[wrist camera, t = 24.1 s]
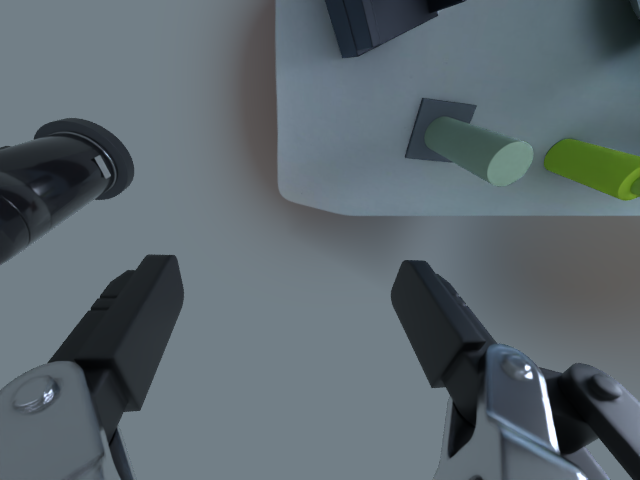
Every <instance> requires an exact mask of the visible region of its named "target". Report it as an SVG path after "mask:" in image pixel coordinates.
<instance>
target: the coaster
mask: <svg viewBox="0 0 640 480" xmlns="http://www.w3.org/2000/svg"><path fill="white" fill-rule="evenodd" d="M475 109H476V105H470V104H463V103H455V102H448V101H441V100H434V99H426V98H422V101H421V105H420V108H419V111H418V115H417V118H416V121H415V125H414V128H413V131H412V135H411V138H410V142H409V145H408V148H407V152H406V155H405V157H406V158H411V159H422V160H432V161H442V162H452V161H450V160H449V159H447V158H445V157H443V156H442V155H440V154H438V153H436V152H435V151H433V150H431V149H429V148H428V147H427V146H426V144H425V139H424V136H425V132H426V129H427V128H428V126H429V125H430V124H431V123H432V122H433V121H434V120H435V119H437V118H439V117H450V118H453V119H456V120H459V121H462V122H465V123H468V124H470V121H471V119H472V116H473V114H474V111H475ZM453 163H454V162H453Z"/></svg>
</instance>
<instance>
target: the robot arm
mask: <svg viewBox="0 0 640 480" xmlns="http://www.w3.org/2000/svg"><path fill="white" fill-rule="evenodd" d="M117 179H118V168H117V165H116V163H115V160H114V159H113V157H112V156H111V154H110V153H109V152H108V151H107V149H106V148H105V147H103V146H102V145H101V144H100V143H99V142H97V141H96V140H94V139H92V138H91V137H89V136H87V135H84V134H82V133H78V132H74V131H59V132H55V133H52V134H50V135H48V136H45V137H42V138H38V139H35V140H32V141H28V142H25V143H22V144H18V145H15V146H12V147H10V146H5V147H1V148H0V265H2V264H3V263H5V262H7V261H9V260H10V259H12V258H13V257H14V256H16V255H17V254H19V253H20V252H21V251H23V250H24V249H25V248H27V247H28V246H30V245H31V244H33V243H34V242H36V241H37V240H38V239H40V238H41V237H42V236H44V235H45V234H47V233H48V232H49V231H51V230H52V229H53V228H55V227H56V226H58V225H59V224H61V223H62V222H63V221H65V220H66V219H68V218H69V217H70V216H72V215H73V214H74V213H76V212H77V211H78V210H80V209H82V208H83V207H84V206H86V205H87V204H89V203H90V202H91V201H93V200H94V199H96V198H97V197H98V196H100V195H101V194H103V193H105V192H107V191H108V190H110V189H111V188H112V187H113V186H114V185H115V184H116V182H117ZM183 300H184V289H183V284H182V279H181V275H180V270H179V265H178V261H177V258H176V256H175V255H147V256H146V257H145V258H144V259H143V261H142V262H141V264H140V265H139V266H138V268H137V269H136V270H127V271H126V272H124V273H123V274H122V275H120V276H119V277H117V278H116V279H114V280H113V281H111V282H110V284H109V285H108V286H107V287H106V289H105V290H104V292H103V293H102V294H101V295H100V299H97V300H96V301H95V303H94V304H93V305H92V307H91V310H90V311H88V312H87V313H86V314H85V316H84V317H83V318H82V319H81V321H80V322H79V324H78V325H77V326H76V327H75V328H74V330H73V331H72V332H71V334H70V335H69V336H68V337H67V339H66V340H65V341H64V342H63V344H62V345H61V346H60V348H59V349H58V350H57V351H56V353H55V354H54V355H53V357H52V358H51V359H50V360H49V362H48V363H47V364H44V365H41V366H39V367H36V368H33V369H31V370H29V371H27V372H25V373H23V374H22V375H20V376H18V377H17V378H15V379H14V380H13V381H11V382H10V383H8V384H7V385H6V386H5V387H4V388H2V389H1V390H0V480H137V479H136V476H135V473H134V470H133V467H132V464H131V461H130V458H129V455H128V451H127V448H126V445H125V442H124V439H123V436H122V433H121V430H120V428H119V426H118V423H119V421H120V419H121V416H122V414H123V412H127V411H128V412H129V411H140V410H141V407H142V405H143V402H144V400H145V398H146V395H147V392H148V390H149V387H150V385H151V383H152V380H153V378H154V375H155V373H156V370H157V368H158V365H159V363H160V360H161V358H162V355H163V353H164V351H165V348H166V346H167V343H168V341H169V338H170V336H171V333H172V331H173V328H174V326H175V323H176V321H177V318H178V316H179V313H180V311H181V308H182V305H183ZM391 301H392V305H393V307H394V309H395V311H396V313H397V315H398V318H399V320H400V322H401V324H402V326H403V328H404V330H405V332H406V334H407V337H408V339H409V341H410V343H411V345H412V347H413V349H414V351H415V354H416V356H417V358H418V360H419V362H420V364H421V366H422V368H423V370H424V373H425V375H426V377H427V379H428V381H429V383H430V385H431V387H432V388H440V387H446V388H447V390H448V392H449V394H450V397H449V399H448V404H447V411H446V419H445V427H444V435H443V443H442V450H441V457H440V462H439V466H438V468H437V471H436V473H435V475H434V477H433V480H610V478H609V477H608V476H607V475H606V473H605V472H604V471H603V469H602V468H601V467H600V465H599V464H598V463H597V461H596V460H595V459H594V458H593V456H592V455H591V454H590V452H589V451H588V450H587V448H586V447H585V446H586V445H588V444H590V443H591V442H593V441H595V440H596V439H598V438H599V439H600V440H601V441H602V442H603V443H604V445H605V446H606V447H607V448H608V450H609V451H610V452H611V453H612V454H613V456H614V457H615V458H616V459H617V461H618V462H619V463H620V464H621V465H622V467H623V468H624V469H625V470H626V472H627V473H628V474H629V475H630V477H631V478H632V479H633V480H640V402H639V401H638V400H637V399H635V398H634V397H633V396H632V395H631V394H630V393H629V392H628V391H627V390H626V389H625V388H624V387H623V386H622V385H621V384H620V383H618V382H617V381H616V380H615V379H613V378H612V377H611V376H609V375H608V374H606V373H604V372H603V371H601V370H599V369H597V368H595V367H593V366H590V365H587V364H581V363H575V364H573V365H572V366H571V367H569V368H568V369H567V370H566V371H565V372H564V373H559V372H555V371H552V370H548V369H544V368H540V367H538V366H537V365H536V364H535V363H534V362H533V361H532V360H531V359H530V358H529V357H528V356H526V355H525V354H524V353H522V352H520V351H519V350H517V349H515V348H513V347H511V346H508V345H505V344H497V343H496V341H495V340H494V339H493V338H492V336H491V335H490V334H489V333H488V331H487V330H486V329H485V327H484V326H483V325H482V324H481V322H480V321H479V320H478V319H477V317H476V316H475V315H474V314H473V312H472V311H471V310H470V308H469V307H468V306H466V305H465V304H466V303H465V302H464V301H463V300H462V298H461V297H459V296H458V293H457V292H456V291H455V289H454V288H453V287H452V286H451V284H450V283H449V282H447V281H446V280H445V279H444V278H442V277H441V276H439V275H438V274H435V272H434V271H433V270H432V268H431V267H430V266H429V264H428V263H427V262H426V261H418V260H405V261H403V262H402V264H401V267H400V269H399V272H398V274H397V277H396V280H395V282H394V285H393V287H392V290H391Z"/></svg>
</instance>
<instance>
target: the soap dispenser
mask: <svg viewBox="0 0 640 480" xmlns="http://www.w3.org/2000/svg"><path fill="white" fill-rule="evenodd" d="M544 167H545V168H546V169H547V170H548V171H551V172H553V173H556V174H558V175H561V176H563V177H566V178H568V179H571V180H573V181H576V182H578V183H581V184H583V185H586V186H588V187H591V188H593V189H596V190H598V191H601V192H603V193H606V194H608V195H611V196H613V197H616V198H618V199H621V200H632V199H635V198H637V197H639V196H640V156H636V155H632V154H628V153H624V152H620V151H616V150H613V149H609V148H605V147H601V146H597V145H593V144H589V143H586V142H582V141H578V140H574V139H564V140H562V141H560V142H558V143H557V144H555V145H554V146H553V147H552V148H551V149H550V150H549V151H548V153H547V155H546V157H545V159H544Z"/></svg>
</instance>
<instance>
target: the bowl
mask: <svg viewBox="0 0 640 480" xmlns="http://www.w3.org/2000/svg"><path fill="white" fill-rule="evenodd" d="M630 3H631V6H632V8H633V10H634V12H635V13H636V15H637V17H638V18H639V20H640V0H630Z"/></svg>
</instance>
